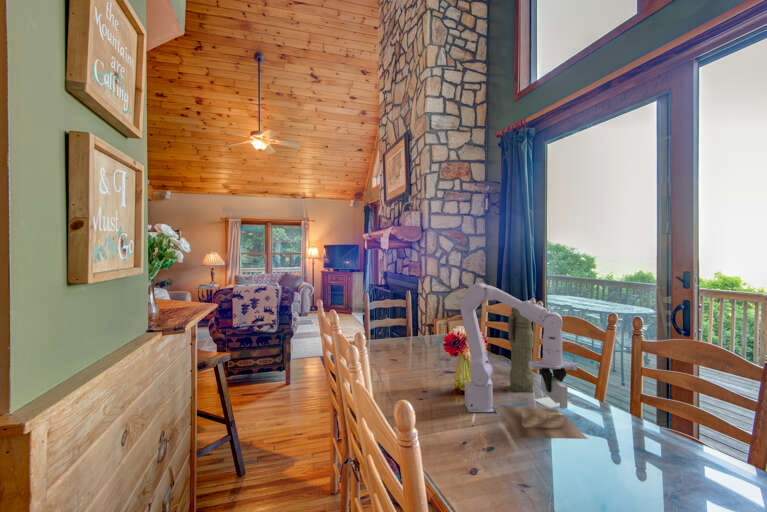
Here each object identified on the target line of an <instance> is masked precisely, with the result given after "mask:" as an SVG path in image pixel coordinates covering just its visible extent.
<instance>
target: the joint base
mask: <svg viewBox="0 0 767 512" xmlns="http://www.w3.org/2000/svg"><path fill="white" fill-rule="evenodd" d="M497 409H498V410H499V412H500V414H502V417H503V418H504V419H505V421H506V422H507V424H508V425H509V427H510V428H511V431H513V433H514V435H515V436H516V437H517V438H526V439H527V438H530V439H531V438H532V439H535V438H536V439H537V438H538V439H539V438H540V439H573V440H574V439H576V440H577V439H579V440H580V439H581V440H584V439H586V440H588V437H587V436H586V435H584V433H583V432H581V430H579V429H578V427H576V426H575V425H574V424H573V423H572V422H571V421H570V420H569V419H568V418H567V417H566V416H565V415H564V414H563V412H560V411H559V410H558V409H557V408H539V407H538V408H537V407H536V408H535V407H533V408H532V407H529V408H528V407H497Z"/></svg>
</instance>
